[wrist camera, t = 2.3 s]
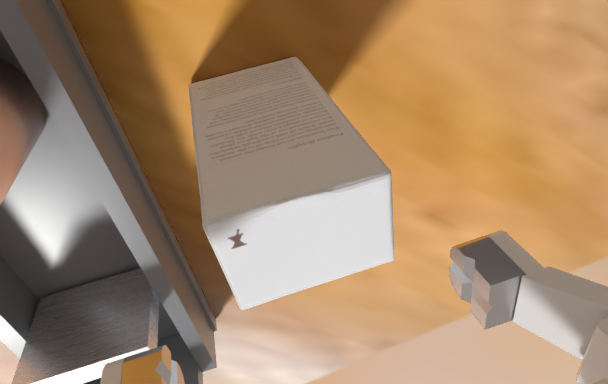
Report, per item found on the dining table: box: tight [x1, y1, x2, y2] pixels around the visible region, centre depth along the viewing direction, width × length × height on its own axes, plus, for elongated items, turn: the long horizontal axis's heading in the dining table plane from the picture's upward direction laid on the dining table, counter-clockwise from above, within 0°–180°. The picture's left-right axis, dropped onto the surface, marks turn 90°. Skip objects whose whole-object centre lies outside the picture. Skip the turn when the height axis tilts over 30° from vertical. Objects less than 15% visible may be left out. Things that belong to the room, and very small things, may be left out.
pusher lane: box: [0, 0, 217, 384], centre depth 22 cm, size 10×24×7 cm, turn 10°
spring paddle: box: [12, 268, 159, 384], centre depth 24 cm, size 7×1×6 cm, turn 100°
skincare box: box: [189, 57, 394, 310], centre depth 18 cm, size 6×4×12 cm
